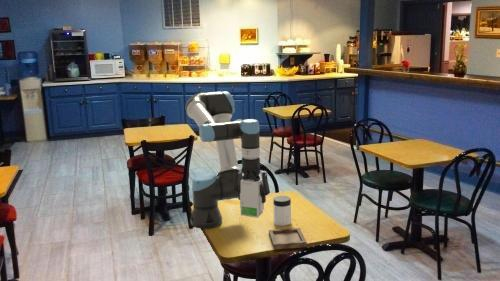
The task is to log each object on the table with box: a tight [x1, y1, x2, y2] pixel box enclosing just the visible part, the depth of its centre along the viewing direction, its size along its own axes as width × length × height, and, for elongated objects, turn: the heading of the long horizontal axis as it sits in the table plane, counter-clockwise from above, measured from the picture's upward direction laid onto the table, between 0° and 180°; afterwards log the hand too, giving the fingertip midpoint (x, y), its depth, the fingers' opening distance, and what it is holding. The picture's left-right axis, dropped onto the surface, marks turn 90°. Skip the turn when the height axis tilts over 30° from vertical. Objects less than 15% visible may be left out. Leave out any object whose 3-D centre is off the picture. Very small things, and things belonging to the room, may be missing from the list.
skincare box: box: [240, 178, 264, 219], centre depth 197 cm, size 8×7×16 cm
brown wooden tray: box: [268, 227, 308, 250], centre depth 202 cm, size 14×15×2 cm
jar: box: [272, 195, 292, 227], centre depth 220 cm, size 9×8×12 cm
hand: (252, 208), depth 198 cm, fingers closed on skincare box, 8 cm apart
